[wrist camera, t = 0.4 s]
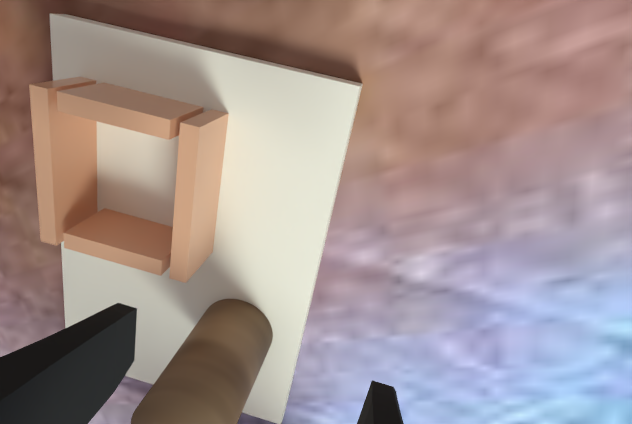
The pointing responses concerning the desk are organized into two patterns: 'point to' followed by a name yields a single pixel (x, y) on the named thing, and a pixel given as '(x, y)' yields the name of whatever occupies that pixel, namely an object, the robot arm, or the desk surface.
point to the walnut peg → (211, 369)
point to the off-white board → (234, 198)
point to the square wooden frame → (81, 174)
